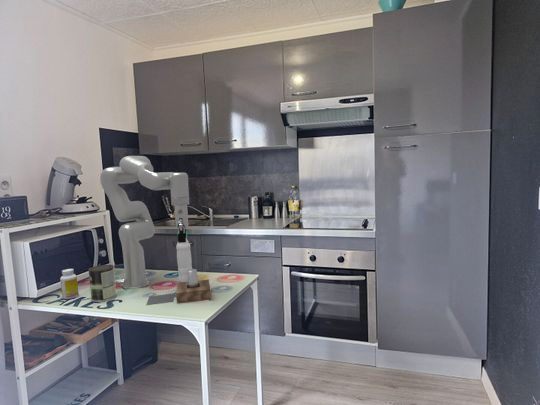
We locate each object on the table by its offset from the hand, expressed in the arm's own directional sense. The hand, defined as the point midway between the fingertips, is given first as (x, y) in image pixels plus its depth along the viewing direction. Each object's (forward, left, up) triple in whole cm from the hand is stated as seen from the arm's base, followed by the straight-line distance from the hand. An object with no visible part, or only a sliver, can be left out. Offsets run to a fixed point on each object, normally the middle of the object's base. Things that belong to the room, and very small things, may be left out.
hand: (182, 240), depth 154 cm
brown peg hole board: (+3, -3, -25) cm, 25 cm away
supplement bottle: (-53, +18, -25) cm, 61 cm away
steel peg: (+3, -3, -25) cm, 25 cm away
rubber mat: (-11, -2, -25) cm, 27 cm away
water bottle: (-1, +23, -25) cm, 34 cm away
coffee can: (-37, +11, -25) cm, 46 cm away
